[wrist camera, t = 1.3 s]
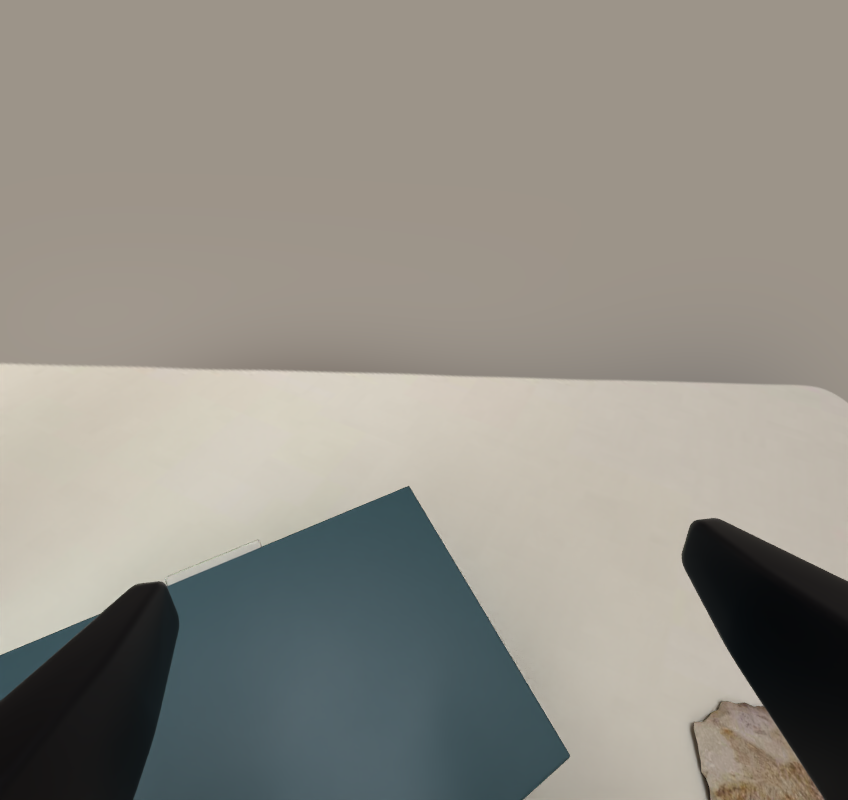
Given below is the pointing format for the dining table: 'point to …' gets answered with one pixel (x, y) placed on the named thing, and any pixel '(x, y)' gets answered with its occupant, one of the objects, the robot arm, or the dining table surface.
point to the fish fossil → (749, 757)
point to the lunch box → (336, 674)
